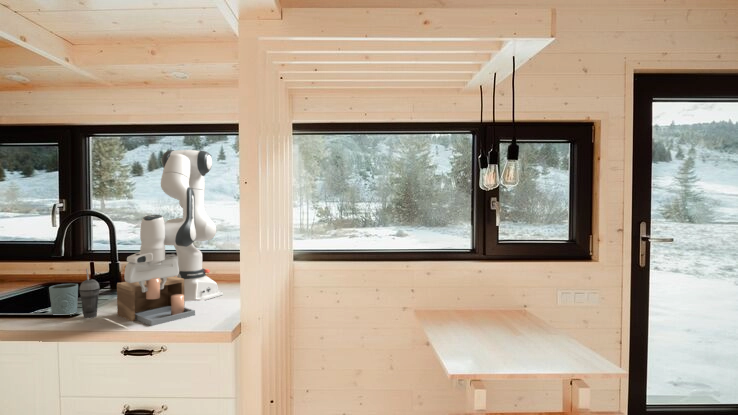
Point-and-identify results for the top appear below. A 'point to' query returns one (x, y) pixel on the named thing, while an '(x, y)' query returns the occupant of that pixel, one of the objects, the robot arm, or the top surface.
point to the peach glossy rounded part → (177, 304)
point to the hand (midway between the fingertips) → (152, 290)
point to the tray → (161, 315)
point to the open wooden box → (135, 299)
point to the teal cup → (64, 298)
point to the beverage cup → (89, 297)
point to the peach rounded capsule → (153, 288)
